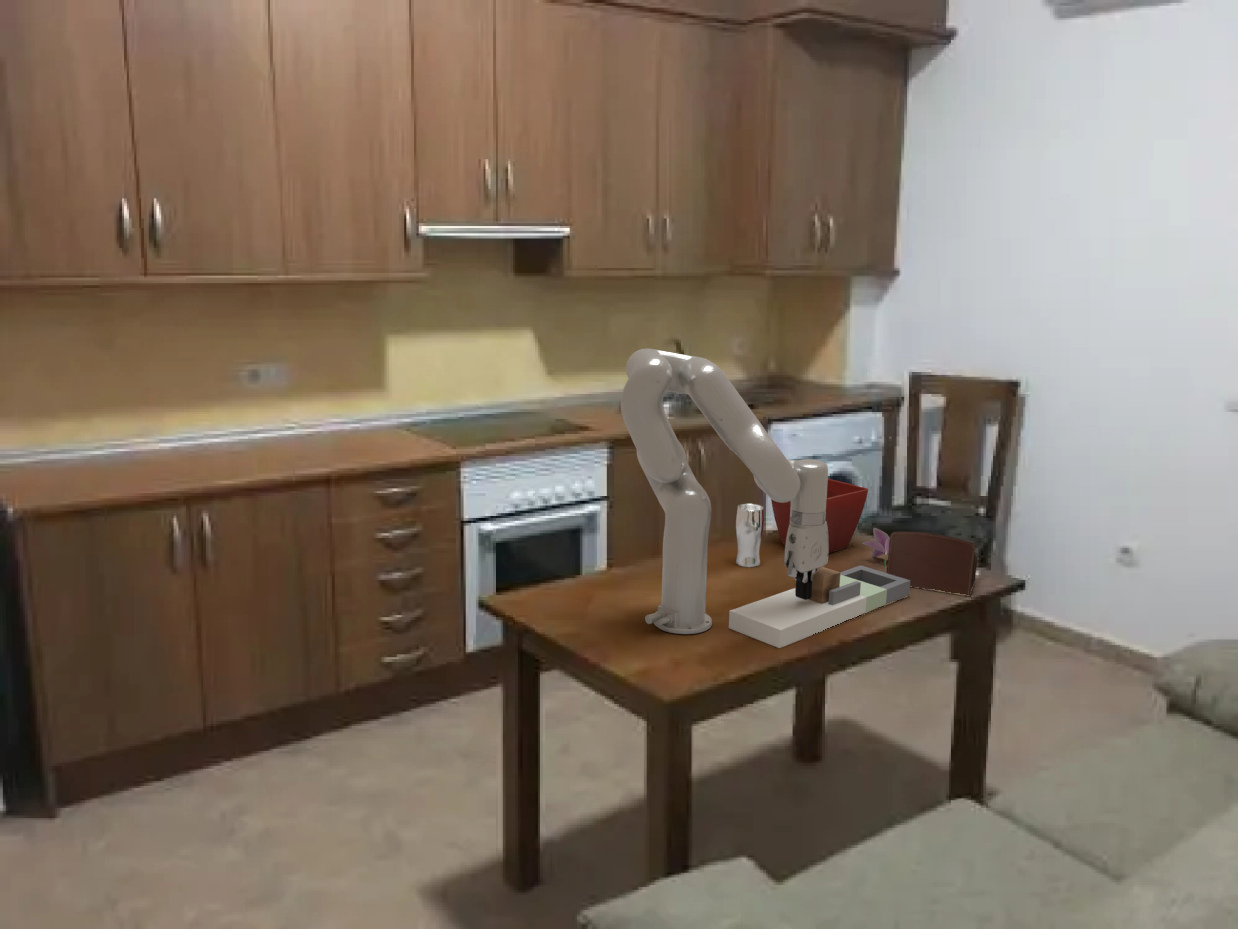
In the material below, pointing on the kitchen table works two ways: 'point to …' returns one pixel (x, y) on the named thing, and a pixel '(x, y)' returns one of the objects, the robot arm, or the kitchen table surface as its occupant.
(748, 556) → the beer glass
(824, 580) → the walnut block
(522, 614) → the kitchen table surface
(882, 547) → the lily
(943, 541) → the letter holder
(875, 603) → the channel deck
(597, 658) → the kitchen table surface
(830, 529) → the plant pot
